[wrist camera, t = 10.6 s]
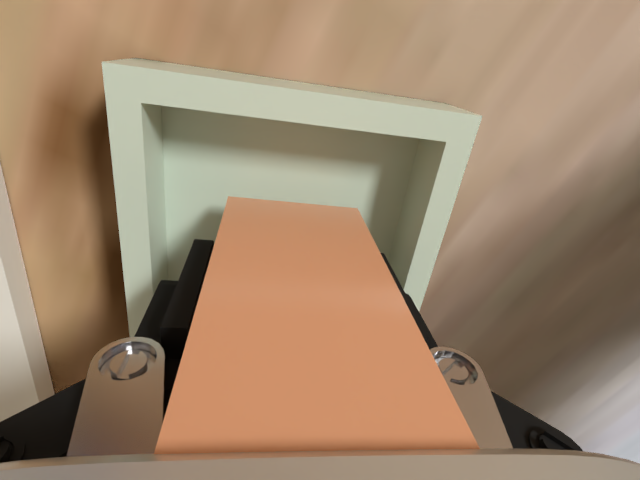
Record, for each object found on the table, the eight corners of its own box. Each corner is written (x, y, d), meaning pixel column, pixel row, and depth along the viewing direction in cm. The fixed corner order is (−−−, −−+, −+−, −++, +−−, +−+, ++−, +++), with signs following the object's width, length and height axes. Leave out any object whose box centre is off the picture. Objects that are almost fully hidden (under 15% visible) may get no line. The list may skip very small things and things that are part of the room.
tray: (445, 103, 13) (482, 115, 10) (373, 363, 18) (387, 409, 15) (135, 57, 11) (101, 61, 9) (155, 358, 16) (137, 409, 14)
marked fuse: (357, 208, 12) (573, 634, 3) (332, 331, 14) (425, 777, 6) (228, 196, 11) (85, 688, 3) (223, 327, 14) (136, 824, 5)
